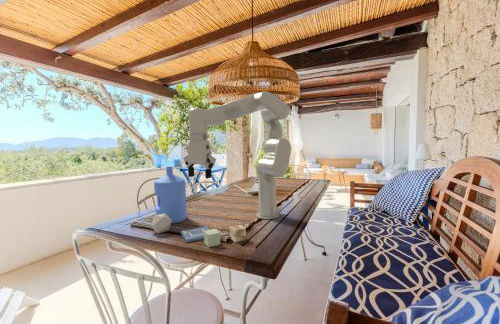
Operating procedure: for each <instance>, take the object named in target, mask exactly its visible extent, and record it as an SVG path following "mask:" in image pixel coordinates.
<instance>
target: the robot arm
mask: <svg viewBox="0 0 500 324" xmlns="http://www.w3.org/2000/svg"><path fill="white" fill-rule="evenodd" d="M258 111H260V115H261V118H262V119H263V121H264V123H265V125H266V133H265V138H264V143H263V148H262V151H263V153H264V154H265V155H266V156H270V157H262V158H260V159H259V160H257V162H256V166H255V167H256V173H257V179H258V180H257V182H258V183H257V184H258V185H257V186H258V211H257V212H256V213H255V217H257V218H259V219H262V220H274V219H277V218H279V217H280V213H279V212H281V211H284V210H285V209H284V207H283V206H282V207H281V206H280V207H279V206H277V181H276V178H282V177H284V176H285V175H286V173H287V171H288V169H289V163H290V160H291V159H290V158H291V153H292V145H291V142H290V141H289V140H288V138H284V137H282V136H283V127H282V124H281V122H280V121H281V120H285V119H286V118H288V116H289V114H290V107H289V106H288V104H287V103H286V102H285V101H284V100H282V99H281V98H279V97H277V96H276V95H275V94H273V93H272V92H269V91H266V90H265V91H261V92H256V93H252V94H249V95H246V96H243V97H240V98H238V99H234V100H231V101H229V102H226V103H224V104H221V105H219V106H216V107H215V106H214V107H212V108H209V109H207V108H206V109H205V108H202V107H201V108H200V107H194V108H193V107H192V108H190V109H189V111H188V123H189V124H188V125H189V127H188V128H189V141H188V145H187V155H185V156H184V157H183V161H184V164H185V165H186V168H187V173H188V174H187V175H188V178H190V177H191V178H192V177H195V167H194V166H195V165H204V167H205V176H204V177H205V179H210V178H212V169H213V167H214V166H215V164H216V162H217V158H216V157H214V156H213V155H212V149H211V148H212V147H211V143H210V141H209V140H208V139H209V138H210V135H209V134H208V128H210V127H211V128H212V127H219V126H222V125H224V124H225V122H226V121H229V120H236V119H241V118H243V117H246V116H247V115H250V114H253V113H255V112H258ZM273 157H274V158H273Z"/></svg>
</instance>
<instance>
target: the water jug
mask: <svg viewBox="0 0 500 324" xmlns="http://www.w3.org/2000/svg"><path fill="white" fill-rule="evenodd" d="M165 168H166V174H165V175H164V176H162V177H159V178H158V179H156V180H154V185H153V189H154V195H155V196H156V199H157V200H156V202H157V205H156V206H155V215H159V214H164V213H166V215H167V216H168V217H169V218H170V219H171V220H172V222H171V225H172V224H173V225H174V224H179V223H181V222H184V221H185V220H186V219H187V218H188V212H187V193H186V192H187V191H186V190H187V189H186V187H187V186H186V185H187V183H186V179H185V178H182V177H180V176H177V175H175V174H174V172H173V171H174V170H173V166H166V167H165Z"/></svg>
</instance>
